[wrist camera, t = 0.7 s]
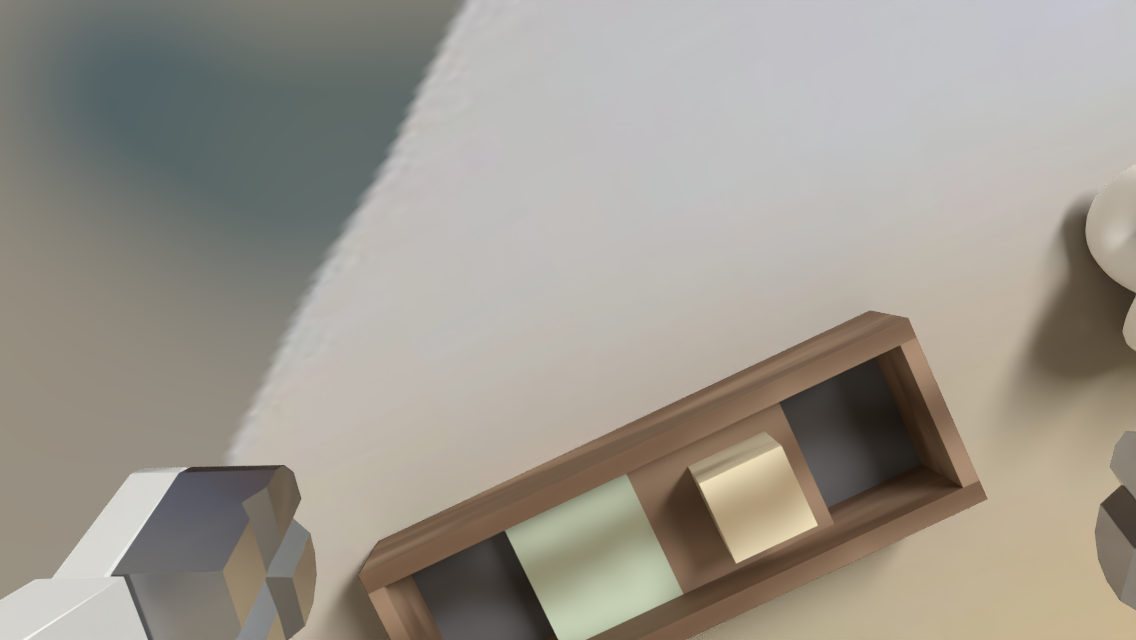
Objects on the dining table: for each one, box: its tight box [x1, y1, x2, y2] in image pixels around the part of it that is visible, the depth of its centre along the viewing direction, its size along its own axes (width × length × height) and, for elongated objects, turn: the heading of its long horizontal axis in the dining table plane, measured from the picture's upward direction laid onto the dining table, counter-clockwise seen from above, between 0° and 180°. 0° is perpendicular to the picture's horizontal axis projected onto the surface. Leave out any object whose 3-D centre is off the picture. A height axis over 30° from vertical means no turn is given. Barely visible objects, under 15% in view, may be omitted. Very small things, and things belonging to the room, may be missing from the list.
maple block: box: [688, 431, 818, 563], centre depth 52 cm, size 5×5×4 cm
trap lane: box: [359, 311, 987, 640], centre depth 54 cm, size 11×34×6 cm, turn 115°
